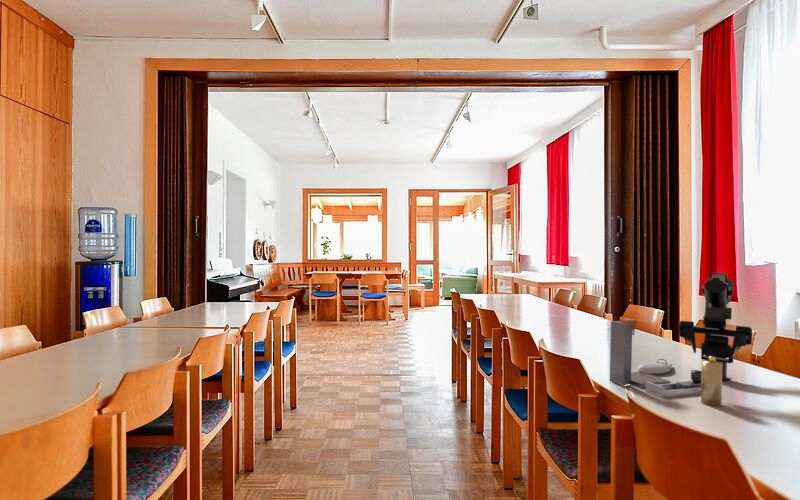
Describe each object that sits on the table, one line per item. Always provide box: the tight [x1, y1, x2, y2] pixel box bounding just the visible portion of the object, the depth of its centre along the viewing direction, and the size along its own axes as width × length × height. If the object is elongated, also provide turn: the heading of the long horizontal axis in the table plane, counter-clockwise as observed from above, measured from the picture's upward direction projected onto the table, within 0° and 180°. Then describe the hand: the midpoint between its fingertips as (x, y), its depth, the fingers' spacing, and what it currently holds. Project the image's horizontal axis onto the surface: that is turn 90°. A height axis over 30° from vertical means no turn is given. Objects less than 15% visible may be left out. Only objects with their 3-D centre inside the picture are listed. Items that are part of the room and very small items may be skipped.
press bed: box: [609, 317, 671, 389], centre depth 156 cm, size 16×12×21 cm
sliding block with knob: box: [675, 369, 702, 390], centre depth 148 cm, size 8×3×6 cm, turn 108°
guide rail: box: [644, 382, 701, 399], centre depth 146 cm, size 20×6×3 cm, turn 108°
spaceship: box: [637, 358, 673, 375], centre depth 171 cm, size 23×7×4 cm, turn 125°
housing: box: [700, 356, 723, 408], centre depth 136 cm, size 5×5×14 cm
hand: (712, 354), depth 141 cm, fingers open, 9 cm apart
